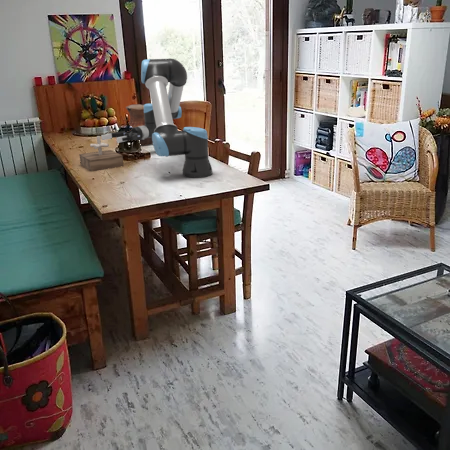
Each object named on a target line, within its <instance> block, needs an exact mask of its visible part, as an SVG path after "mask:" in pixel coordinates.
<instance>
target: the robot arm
mask: <svg viewBox="0 0 450 450" xmlns="http://www.w3.org/2000/svg"><path fill="white" fill-rule="evenodd" d="M140 69H141V72H140V73H141V75H140V78H141V80H140V81H141V84H144V85H145V88H147V89H148V90H149V95H150V99H151V100H150V101H151V103H145V104H143V105H144V119H145V126H139V127H133V128H132V129H131V130H130V131H131V132H130V131H127V132H125V130H124V131H116V132H115V131H114V132H113V131H112V132H109V133H107V134H101V135H100V138H101V141H106V140H112V138H113V139H116V143H117V144H120V143H124V142H127V141H128V142H129V141H130V140H131V141H133V140H135V141H136V140H140V139H143V140H144V139H145V138H150V137H152V141H153V143H152V146H153V148H154V152H155V154H156V155H157V156H158V157H175V156H184V163H183V167H182V171H181V172H182V176H184V177H186V178H193V179H194V178H196V179H198V178H205V177H208V176H209V177H210V176H211V175H213V168H212V165H211V162H210V159H209V136H208V131H207V130H206V129H205V128H201V127H198V126H197V127H196V126H195V127H194V126H185V127H183V129H182V130H178V129H179V127H178V126H177V125H175V124H174V120H176V119H180V118H182V113H183V112H182V107H181V105H180V104H181V99H182V95H183V91H184V86H185V85H186V83H187V81H188V72H187V70H186V67H185V66H184V65H183V63H182V62H180V61H179V60H177V59H176V58H149V59H143V60H142V61H141V68H140ZM168 85H169V87H168V88H167V86H168ZM167 89H168V90H167Z"/></svg>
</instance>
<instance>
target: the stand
mask: <svg viewBox="0 0 450 450" xmlns="http://www.w3.org/2000/svg"><path fill="white" fill-rule="evenodd" d="M79 162H80V166H81V167H83V168H85V169H87V170H88V171H89V172H95V171H102V170H108V168H109V169H115V167H116V168H121V166H122V167H124V158H123V154H120V153H118V152H116V151H114V150H111V149H106V150H102V155H99V151H93V152H87V153H80V154H79Z"/></svg>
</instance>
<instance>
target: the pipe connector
mask: <svg viewBox="0 0 450 450" xmlns="http://www.w3.org/2000/svg"><path fill="white" fill-rule="evenodd" d="M89 146H90V148H94V149H95V150H97V152H99V155H102V151H103V150H102V149H103V148H109V147H110V146H109V143H105V142H102V139H101V135H97V136H96V143H90V145H89Z"/></svg>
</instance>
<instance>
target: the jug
mask: <svg viewBox="0 0 450 450" xmlns="http://www.w3.org/2000/svg"><path fill="white" fill-rule="evenodd" d="M144 105H145V104H139V103H137V104H136V103H135V104H129V105H126V106H125V109H126V110H127V112H128V113H129V121H128V123H129V125H130V126H132V127H139V126H145V119H144ZM140 144H141V147H143V146H148V145H149V146H150V145H153V141H152V137H150V138H145V139H144V140H143V139H140Z"/></svg>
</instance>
